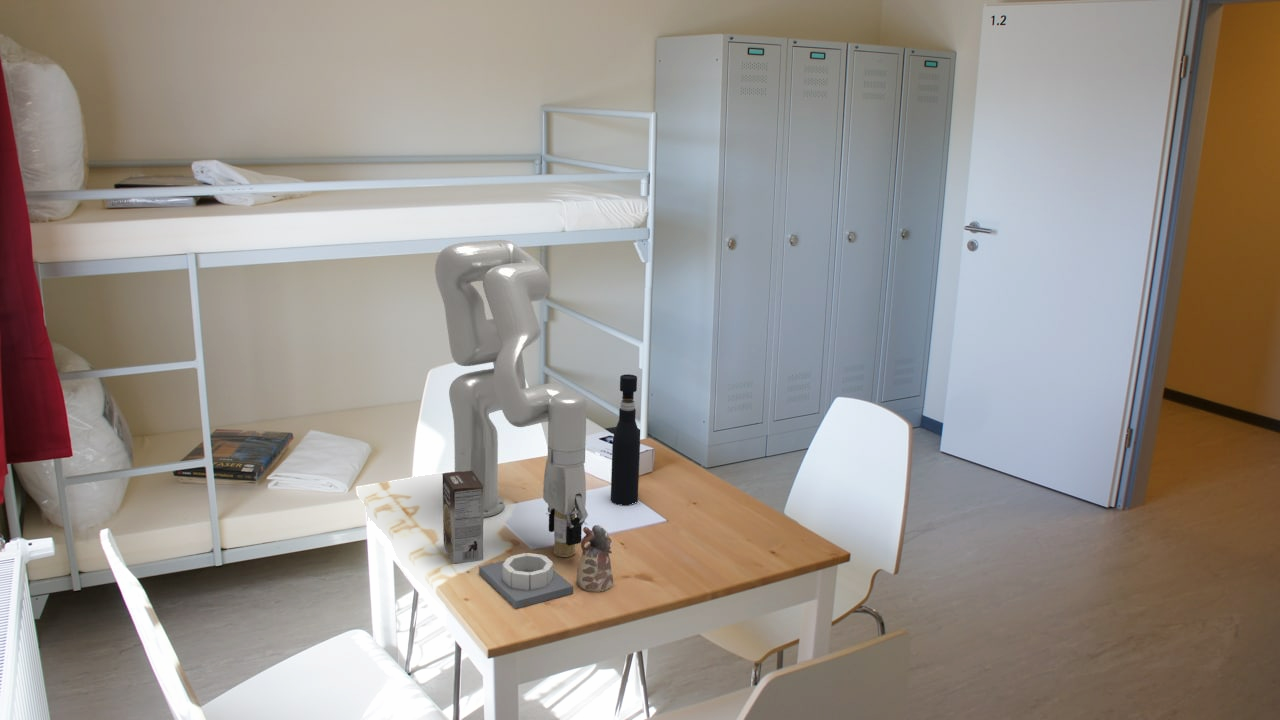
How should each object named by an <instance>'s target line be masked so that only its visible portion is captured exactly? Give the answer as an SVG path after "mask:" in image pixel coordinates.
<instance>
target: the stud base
mask: <svg viewBox="0 0 1280 720" xmlns="http://www.w3.org/2000/svg"><path fill="white" fill-rule="evenodd" d="M478 574H479V575H480V576H481V577H482V578H483V579H484V580H485V581H486V582H488V584H489V585H490V586H492V587H493V589H494V590H496V591H497V593H498V594H500V595H501V596H502V597H503V598H504V599H505V600H506V602H508V603H509V604H510V605H511V606H512V607H514V609H520V608H524V607H528V606H532V605H536V604H538V603H543V602H545V601H546V602H547V601H551V600H554V599H558V598H562V597H565V596H568V595H569V596H570V595H574V585H573V584H571V583H570V582H569V581H568V580H567V579H566V578H564V577H563V576H561V575H560V574H559V572H557V571H555V569H554V561H552V560H551V559H549V558H548V556H546V555H544V554H538V553H533V552H532V553H531V552H527V553H525V552H523V553H518V554H514V555H510V556H509V557H507V558H506V559H505V560H501V561H496V562H492V563H488V564H484V565H481V566H480V565H479V566H478Z"/></svg>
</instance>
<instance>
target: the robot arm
mask: <svg viewBox="0 0 1280 720" xmlns="http://www.w3.org/2000/svg"><path fill="white" fill-rule="evenodd" d="M434 265H435V266H434V272H435V273H434V274H435V280H436V284H437V288H438V291H439V293H440V296H441V299H442V302H443V307H444V313H445V319H446V327H447V328H446V329H447V335H448V342H449V348H450V350H449V351H450V354H451V357H452V359H453V361H454V362H455V363H456V364H457V365H459V366H461V367H462V366H463V367H473V366H474V367H475V366H480V365H485V364H489V363H492V364H493V368H489V369H481V370H475V371H470V372H467V373H464V374H461V375H458V376H457V377H456V378H455V379H454V380H453V381H452V382H451V384H450V386H449V390H448V396H449V402H450V407H451V412H452V418H453V433H454V434H453V438H454V440H453V442H454V472H460V471H462V472H464V471H473V472H474V474H475V475H476V477H477V478H478V479H479V481H480V482H481V483H482V485H483V518H486V517H487V518H488V517H491V516H496V515H497V514H499V513H501V512H502V511H503V510H504V509H505V500H504V499H503V497H500V496H499V495H498V485H499V484H498V483H499V482H498V479H499V473H498V466H499V465H498V459H499V458H498V457H499V456H498V455H499V453H498V449H499V447H498V446H499V442H498V441H499V439H498V430H497V427H496V426H495V424H494V422H493V421H492V419H490V416H489V414H492V413H494V412H499V411H502V413H503V415H504V417H505V419H506V420H507V422H508V423H509V424H510V425H511V426H513V427H516V428H525V427H526V428H527V427H529V426H530V427H531V426H534V425H538V424H542V423H547V458H546V462H545V468H544V476H543V477H544V478H543V490H542V491H543V492H542V495H543V496H542V497H543V499H542V500H544V502H545V503H546V504H547V505H548V507H547V512H548V531H549V532H550V533H554V515H555V510H557V511H558V512H560V513H561V514H563V515H567V520H568V525H569V526H568V527H567V529H566V544H567V545H568V546H570V545H574V544H575V545H578V544H581V542H582V532H583V528H582V527H583V526H584V523H585V521H586V519H587V518H588V515H589V514H588V512H587V509H586V505H587V504H586V503H587V502H586V501H587V489H586V488H587V486H586V484H587V483H586V472H585V465H584V464H585V463H586V445H587V444H586V443H587V442H586V441H587V440H586V439H587V437H586V435H587V433H586V432H587V400H586V397H584V396H583V395H582V394H579V393H576V392H571V391H570V390H568V389H567V388H565V386H563V385H561V384H559V383H555V382H554V383H553V382H549V383H545V384H544V383H543V384H541V385H540V384H539V385H533V386H530V387H527V385H526V384H527V382H526V375H525V374H526V373H525V366H524V358H523V351H524V350H525V349H526V348H527V347H529V346H530V345H532V344H533V343H534V342H536V341H537V340H538V339H539V338H540V337H541V334H542V333H541V332H542V330H541V327H540V324H539V321H538V317H537V315H536V312H535V309H534V305H533V303H532V302H539V301H541V300H544V299H545V298H546V297H547V296H548V294H549V292H550V288H551V282H550V278H549V274H548V272H547V270H546V269H545V267H544V266H543V265H542V264H541V262H539V261H538V260H537V259H535V258H534V257H533V256H532V255H531V254H529V253H528V252H526V251H525V250H524V249H522V248H521V247H520V246H518V245H516V244H515V243H514V242H512V241H509V240H506V239H505V240H504V239H495V240H494V239H492V240H481V241H480V240H479V241H468V242H459V243H454V244H451V245H448V246H447V247H445V248H443V249H442V250H441V251H440V252H439V253H438V255H437V258H436V261H435V264H434ZM475 282H482V287H483V291H484V295H485V298H486V301H487V303H488V307H489V309H490V313H491V315H492V318H490V319H487V316H486V311H485V309H486V308H485V302H484V299H483V297H482V295H481V294H480V293H479V291H478V290H477V289H476V288H475V287H474V285H473V284H472V283H475ZM573 508H576V511H572V510H573ZM572 514H575V517H576V518H575V519H574V520H573V519H572Z"/></svg>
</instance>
